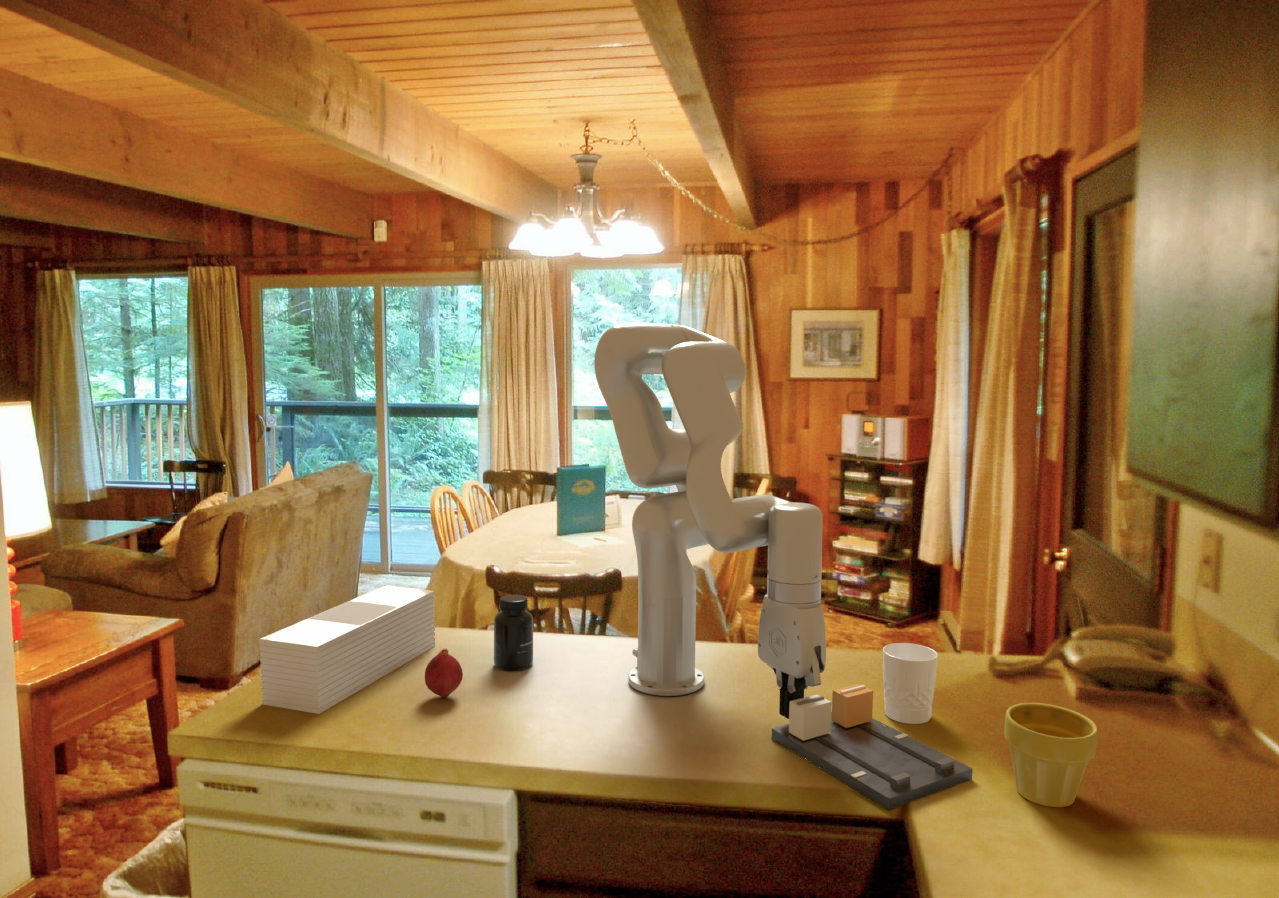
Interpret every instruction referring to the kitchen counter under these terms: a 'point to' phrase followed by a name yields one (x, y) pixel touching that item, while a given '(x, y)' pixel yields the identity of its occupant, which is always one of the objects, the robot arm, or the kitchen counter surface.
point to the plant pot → (1049, 751)
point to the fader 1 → (810, 717)
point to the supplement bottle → (513, 634)
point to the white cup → (909, 682)
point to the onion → (443, 674)
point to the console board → (878, 761)
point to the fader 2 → (852, 705)
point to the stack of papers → (345, 648)
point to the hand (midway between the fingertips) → (791, 714)
